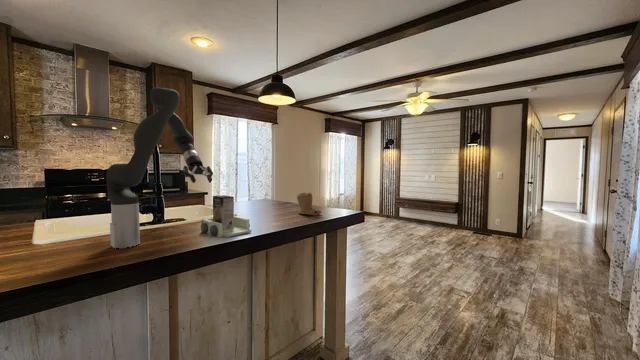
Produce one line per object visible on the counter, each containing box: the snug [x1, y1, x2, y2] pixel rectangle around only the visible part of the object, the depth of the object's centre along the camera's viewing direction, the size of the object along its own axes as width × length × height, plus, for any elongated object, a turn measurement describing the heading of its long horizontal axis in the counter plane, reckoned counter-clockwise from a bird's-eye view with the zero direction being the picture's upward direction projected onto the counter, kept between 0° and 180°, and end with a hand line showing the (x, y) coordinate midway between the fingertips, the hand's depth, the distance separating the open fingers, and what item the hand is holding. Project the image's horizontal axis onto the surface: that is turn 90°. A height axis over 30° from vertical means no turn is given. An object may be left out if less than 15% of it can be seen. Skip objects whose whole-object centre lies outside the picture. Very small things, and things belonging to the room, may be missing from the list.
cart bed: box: [200, 215, 252, 238], centre depth 137 cm, size 19×21×6 cm
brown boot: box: [296, 191, 322, 216], centre depth 187 cm, size 15×12×15 cm
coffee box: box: [212, 194, 235, 231], centre depth 138 cm, size 9×6×16 cm
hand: (202, 181), depth 144 cm, fingers open, 8 cm apart
